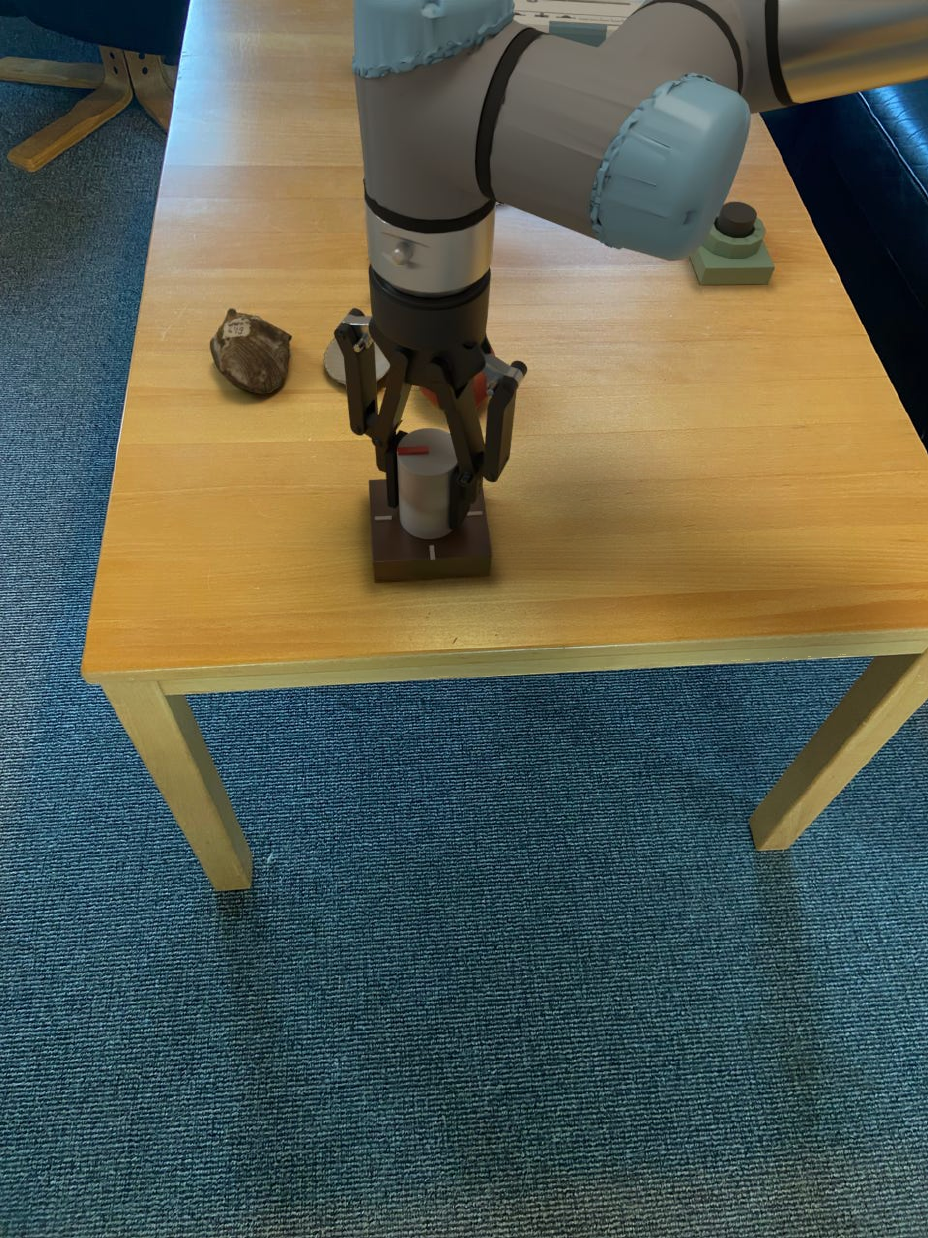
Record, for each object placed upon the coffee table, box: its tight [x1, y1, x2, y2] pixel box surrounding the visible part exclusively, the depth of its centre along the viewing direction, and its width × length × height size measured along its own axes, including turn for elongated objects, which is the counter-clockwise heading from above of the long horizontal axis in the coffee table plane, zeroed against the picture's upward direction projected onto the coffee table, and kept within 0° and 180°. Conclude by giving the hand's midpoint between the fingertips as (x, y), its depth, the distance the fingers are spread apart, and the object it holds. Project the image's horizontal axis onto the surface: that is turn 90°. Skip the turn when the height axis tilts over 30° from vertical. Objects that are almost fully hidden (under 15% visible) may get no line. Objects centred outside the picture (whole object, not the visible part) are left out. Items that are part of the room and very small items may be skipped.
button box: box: [689, 213, 776, 286], centre depth 95 cm, size 10×8×4 cm
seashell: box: [323, 336, 390, 386], centre depth 84 cm, size 8×3×8 cm
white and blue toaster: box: [513, 0, 645, 47], centre depth 103 cm, size 21×8×20 cm, turn 88°
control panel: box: [368, 478, 493, 583], centre depth 72 cm, size 10×9×3 cm
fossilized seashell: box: [209, 308, 293, 394], centre depth 82 cm, size 8×7×10 cm
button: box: [716, 201, 758, 238], centre depth 93 cm, size 4×4×2 cm
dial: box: [397, 427, 458, 539], centre depth 68 cm, size 5×5×8 cm
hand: (428, 507), depth 70 cm, fingers closed on dial, 5 cm apart
